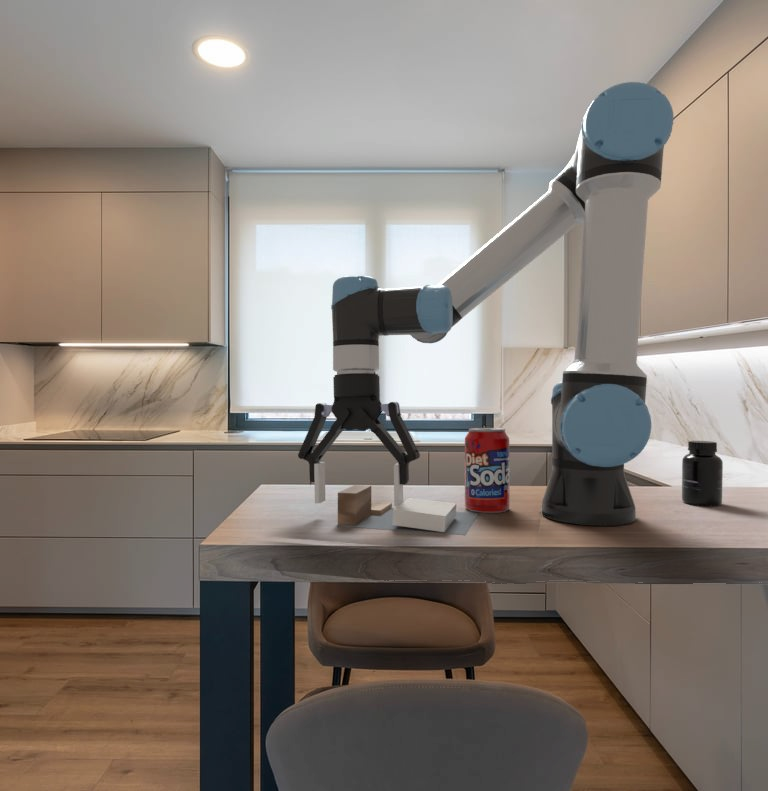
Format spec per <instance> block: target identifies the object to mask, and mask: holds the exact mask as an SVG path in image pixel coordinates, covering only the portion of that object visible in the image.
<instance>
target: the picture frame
mask: <svg viewBox="0 0 768 791" xmlns="http://www.w3.org/2000/svg"><path fill="white" fill-rule="evenodd" d="M393 508H394V509H393V522H392V525H397V526H404V527H411V528H418V529H425V530H432V531H439V532H445V531H446V530H447V528H448V527H449V526H450V525H451V523H452V522H453V521H454V519H455V518H456V512H457V503H453V502H446V501H438V500H430V499H423V498H414V497H409V498H407V499H406V500H403V503H401V504H400V505H398V506H395V507H393Z"/></svg>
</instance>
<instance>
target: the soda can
mask: <svg viewBox="0 0 768 791" xmlns="http://www.w3.org/2000/svg"><path fill="white" fill-rule="evenodd" d="M464 507H465V509H466V510H468V511H469V512H472V513H479V514H500V513H501V514H502V513H505V512H507V511H509V509H510V437H509V436H508V435H507V433H506V428H498V427H496V428H495V427H473V428H472V427H471V428H468V433H467V434H466V436H465V437H464Z"/></svg>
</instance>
